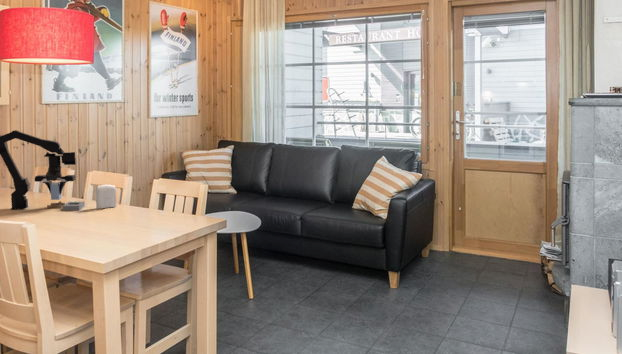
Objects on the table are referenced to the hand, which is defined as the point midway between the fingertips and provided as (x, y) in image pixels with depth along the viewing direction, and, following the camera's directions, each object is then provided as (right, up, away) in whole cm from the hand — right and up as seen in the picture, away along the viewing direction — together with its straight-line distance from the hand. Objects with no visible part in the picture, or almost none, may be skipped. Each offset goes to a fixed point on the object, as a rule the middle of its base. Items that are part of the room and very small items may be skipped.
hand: (56, 194), depth 271 cm
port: (+11, -7, -2) cm, 13 cm away
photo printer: (+26, -7, +2) cm, 27 cm away
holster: (0, -6, +5) cm, 8 cm away
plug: (0, -3, 0) cm, 3 cm away
